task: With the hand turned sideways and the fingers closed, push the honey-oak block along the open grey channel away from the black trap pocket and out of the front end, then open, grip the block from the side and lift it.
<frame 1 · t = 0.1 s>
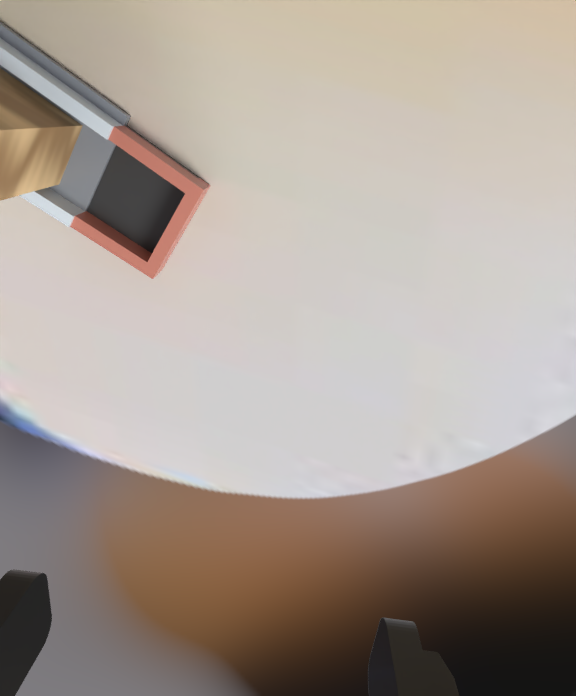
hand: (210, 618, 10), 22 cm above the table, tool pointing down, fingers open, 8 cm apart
trap tube: (44, 134, 26), on the table
oak block: (31, 129, 26), resting on trap tube
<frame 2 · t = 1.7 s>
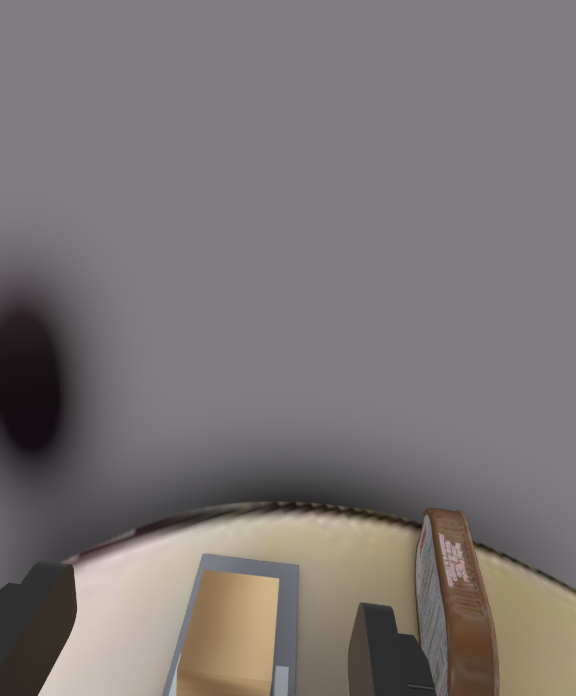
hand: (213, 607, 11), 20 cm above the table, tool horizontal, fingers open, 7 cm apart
tin: (432, 647, 31), on the table
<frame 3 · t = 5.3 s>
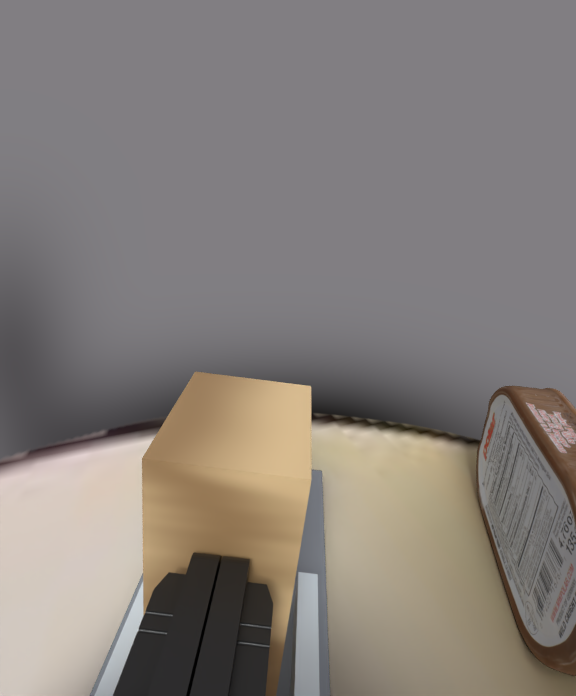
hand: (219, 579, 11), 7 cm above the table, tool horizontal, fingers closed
tin: (513, 568, 22), on the table
oak block: (221, 649, 16), point 1 cm above the table, touching gripper
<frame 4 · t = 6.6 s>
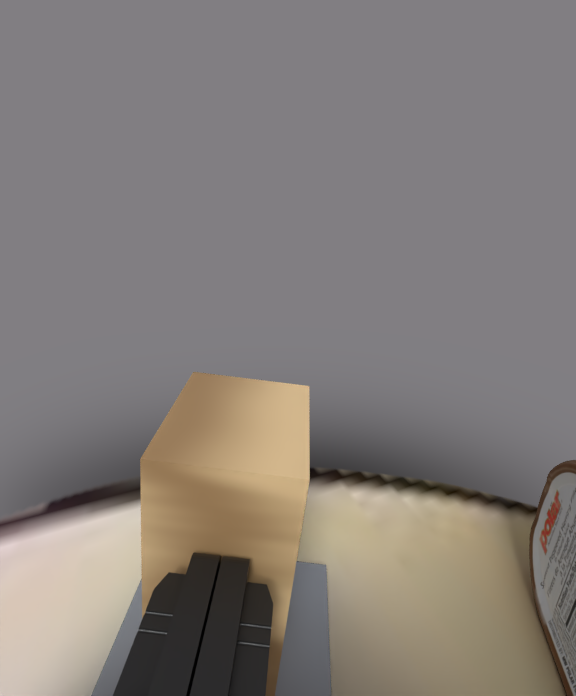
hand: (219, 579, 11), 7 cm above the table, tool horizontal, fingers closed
oak block: (220, 649, 16), resting on trap tube
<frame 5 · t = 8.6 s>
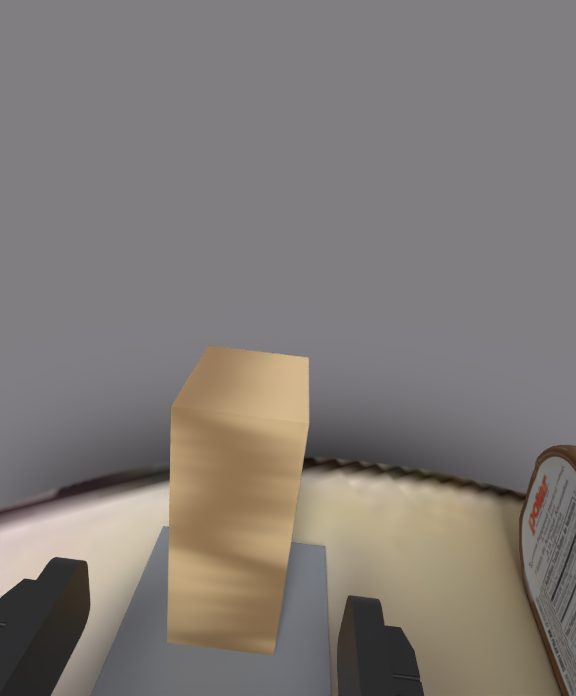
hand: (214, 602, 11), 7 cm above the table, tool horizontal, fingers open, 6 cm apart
oak block: (231, 589, 18), resting on trap tube
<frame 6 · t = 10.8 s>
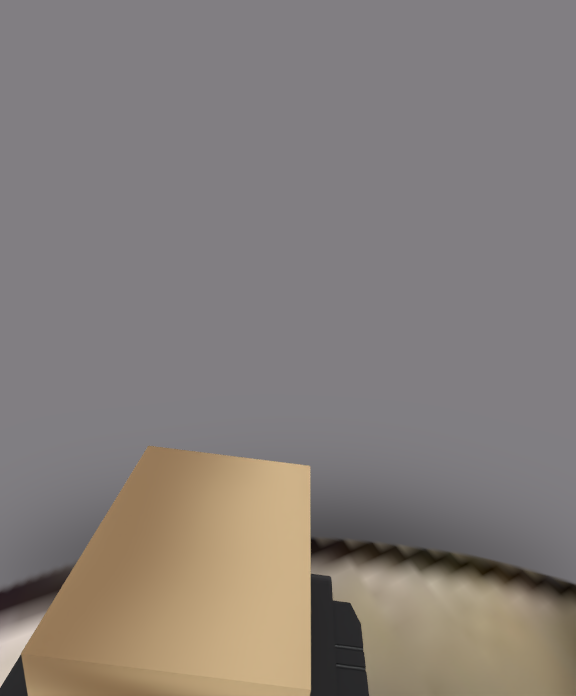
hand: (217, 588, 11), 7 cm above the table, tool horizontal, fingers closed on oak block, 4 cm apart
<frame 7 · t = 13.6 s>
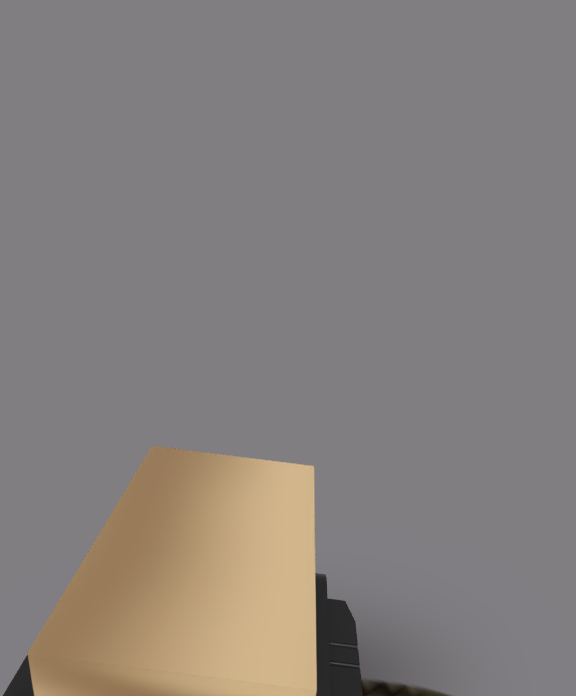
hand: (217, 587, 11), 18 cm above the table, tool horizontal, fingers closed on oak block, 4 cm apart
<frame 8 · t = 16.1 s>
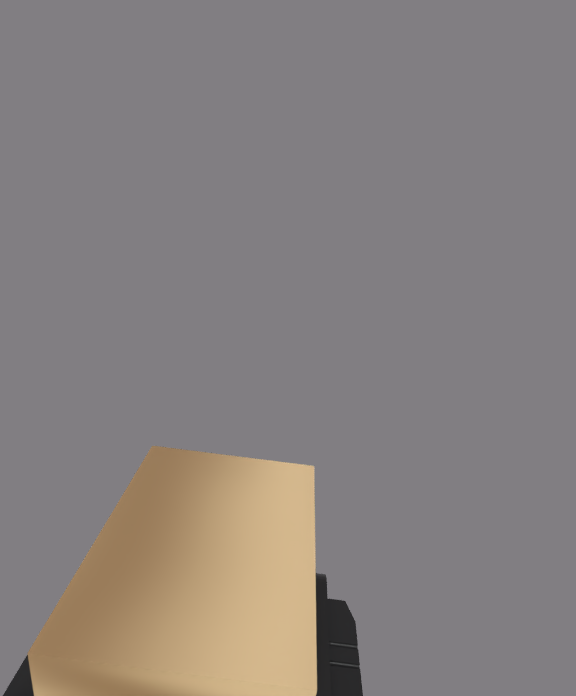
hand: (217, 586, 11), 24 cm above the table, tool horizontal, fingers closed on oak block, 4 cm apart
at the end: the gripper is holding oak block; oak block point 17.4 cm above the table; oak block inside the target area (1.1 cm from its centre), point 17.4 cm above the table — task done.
